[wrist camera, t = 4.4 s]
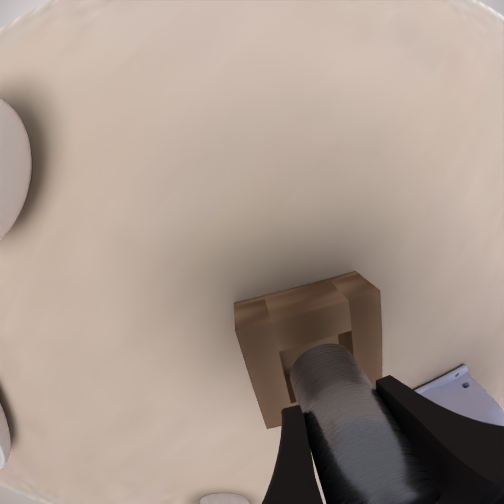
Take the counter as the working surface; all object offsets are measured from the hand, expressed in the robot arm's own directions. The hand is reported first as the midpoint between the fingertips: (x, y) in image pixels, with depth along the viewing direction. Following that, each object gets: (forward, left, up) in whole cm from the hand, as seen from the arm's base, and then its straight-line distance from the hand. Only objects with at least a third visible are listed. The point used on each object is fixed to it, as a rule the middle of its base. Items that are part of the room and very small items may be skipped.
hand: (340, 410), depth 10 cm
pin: (0, 0, -3) cm, 3 cm away
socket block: (0, +2, -9) cm, 10 cm away
